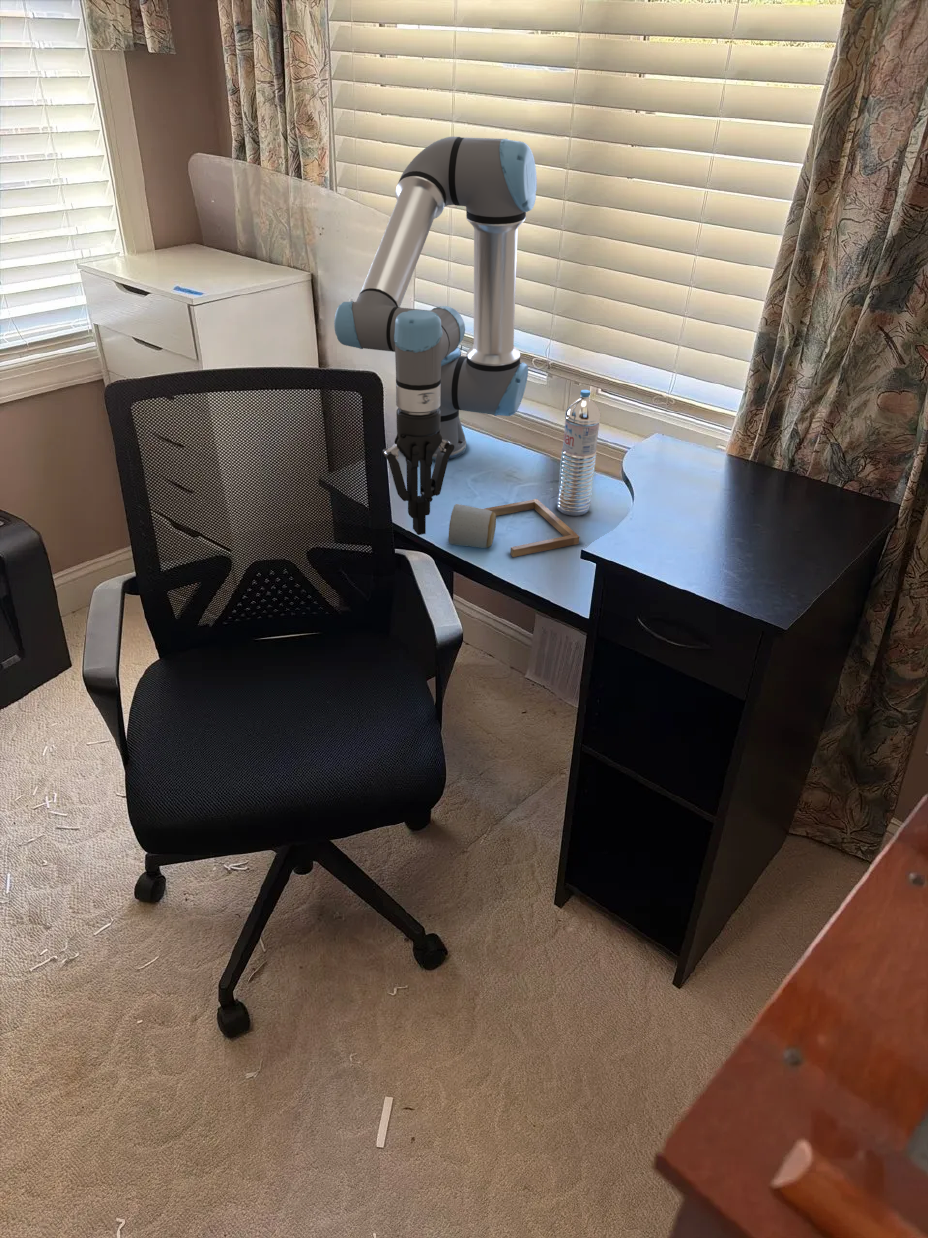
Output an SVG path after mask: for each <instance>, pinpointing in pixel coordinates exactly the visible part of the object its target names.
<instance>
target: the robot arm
mask: <svg viewBox="0 0 928 1238" xmlns="http://www.w3.org/2000/svg"><path fill="white" fill-rule="evenodd" d="M537 186H538V179H537V167H536V161H535V156H534V154H533V151H532V149H531V147H530V146H529V145H528V144H527V143H526V142H525V141H520V140H513V139H508V138H493V137H491V138H490V137H461V136H447V137H443V138H440V139H438V140H436V141H434V142H432V143H430V144H428V146H426V147H425V148H424V149H422V150H421V151H420V152H418V154H417V155H416V156H415V157H414V158H412V160H411V161H410V162H409V163H408V165H407V166H406V167H405V169H404V171H403V172H402V174H401V175H400V177H399V179H398V182H397V184H396V188H395V199H396V202H395V204H394V207H393V210H392V212H391V215H390V217H389V220H388V222H387V224H386V227H385V229H384V232H383V234H382V238H381V240H380V242H379V244H378V247H377V250H376V253H375V255H374V256H373V259H372V262H371V265H370V267H369V270H368V272H367V275H366V277H365V279H364V282H363V285H362V287H361V290H360V292H359V294H358V297H357V299H356V301H353V300H350V301H342V303H341V304H339V305H338V306H337V308H336V311H335V313H334V314H335V315H334V321H333V322H334V323H333V326H334V327H333V328H334V333H335V336H336V339H337V340H338V342H339V343H340V344H341V345H343V346H348V347H350V348H356V349H359V350H363V349H365V350H374V351H384V352H392V353H395V354H394V357H395V358H394V359H395V405H396V407H397V409H396V411H395V412H396V415H395V416H396V437H395V438H394V444H393V445H392V446H390V447H389V448H386V447H385V448H383V449H382V452H381V453H382V455H383V456H384V457H385V459H386V460H387V461H388V465H389V468H390V472H391V476H392V479H393V483H394V487H395V489H396V493H397V496H398V497H399V498H400V499H401V500H402V501H403V502H407V513H408V515H409V517H410V518H411V519H412V530H413V531H414V532H415V533H416V535H417V536H422V535H426V534H427V533H426V532H427V531H426V528H427V527H426V526H427V525H426V522H427V521H426V519H427V517H426V516H430V514H431V503H432V501H433V500H434V499H433V497H435V496H436V497H437V496H440V495H441V493H442V492H441V491H442V488H443V485H444V484H443V483H444V481H445V475H446V472H447V467H448V463H449V460H452V459H456V458H458V457H460V456H462V455H463V454H464V453H465V452H466V450H467V440H466V435H465V432H464V429H463V426H462V423H461V420H460V411H463V412H471V413H476V414H483V415H491V416H492V415H493V416H494V417H497V416H502V417H512V416H514V415H515V414H516V413H517V412H518V410H519V408H520V406H521V403H522V401H523V398H524V394H525V391H526V386H527V382H528V376H529V366H528V364H527V363H525V362H524V361H522V362H521V352H520V350H519V348H517V347H516V346H515V344H514V343H515V342H514V341H515V318H516V317H515V315H516V291H517V290H516V285H517V284H516V283H517V257H518V229H519V227H520V226H521V225H522V224H523V223H524V222H525V220H526V217H527V213H528V212H530V211H532V210H533V208H534V207H535V204H536V199H537V194H536V192H537V190H538V189H537V188H538V187H537ZM447 206H455V207H458V206H459V207H465V209H466V211H465V212H466V215H465V216H466V217H465V218H466V220H467V221H468V223H469V224H470V225H471V226H472V227H473V345H472V346H471V347H469V348H468V350H467V352H466V356H463V355H462V351H461V349H460V348H459V345H460V344H461V342H462V341H463V340H464V337H465V335H466V326H465V325H466V324H465V321H464V318H463V317H462V315H461V314H460V312H459V311H458V310H456V309H455V308H453V307H451V306H448V305H447V306H446V305H441V306H437V307H434V308H431V309H430V310H429V309H419V308H410V307H409V308H408V307H401V305H402V303H403V300H404V298H405V295H406V292H407V290H408V287H409V284H410V282H411V279H412V277H413V275H414V272H415V269H416V267H417V264H418V262H419V259H420V256H421V254H422V251H423V248H424V246H425V243H426V240H427V238H428V235H429V233H430V230H431V228H432V225H433V223H434V220H436V219H437V218H439V217H440V216H442V213H443V212H444V209H445V207H447ZM399 452H400V453H401V454H402V456H403V457H404V458H405V464H406V465H405V466H406V468H405V469H406V483H405V479H404V476H403V472H402V469H401V465H400V463H399V461H398V460H399V457H400V455H399ZM433 462H434V466H433V470H432V465H433ZM419 494H420V495H419Z"/></svg>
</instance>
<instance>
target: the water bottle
mask: <svg viewBox="0 0 928 1238" xmlns="http://www.w3.org/2000/svg"><path fill="white" fill-rule="evenodd" d="M579 394H580V395H579V398H578V399H576V400H574V401H573V402H571V403H570V404H569V406H568V407H567V408H566V410H565V415H564V431H563V440H562V443H563V444H562V448H561V454H560V463H559V464H560V465H559V477H558V487H557V497H556V508H557V510H558V511H559V512H560V513H561V514H564V515H566V516H571V517H579V516H583V515H586V514H587V513H588V512H589V511H590V507H591V501H592V493H593V484H594V482H593V481H594V476H595V466H596V460H597V445H598V438H599V437H598V436H599V431H600V429H599V428H600V422H601V420H602V419H601V417H602V412H601V410H600V408H599V407H598V405H597V404H596V403H595V402H594V401H593V400H592V399H591V398H590V396H591V391H590V390H589V389H581V390H580V393H579Z"/></svg>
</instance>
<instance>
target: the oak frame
mask: <svg viewBox="0 0 928 1238" xmlns="http://www.w3.org/2000/svg"><path fill="white" fill-rule="evenodd" d="M483 509H486V510H490V511H492V512H494V513H495V514H496V517H499V516H505V515H508V514H514V513H515V514H516V513H519V512H520V513H521V512H526V511H529V510H530V511H531V510H535V511H536V513H538V514H539V515H540V516H541V517H542V518H544V519H545V520H546V521H547V523H549V524H550V525H551V526H552V527H553V528H554V529H555V530H557V532H558V533H560V534H561V535H562V536H559V537H554V538H549V539H544V540H539V541H535V542H534V541H533V542H529V543H525V544H519V545H514V546H510V550H509V551H510V552H509V555H510V556H511V557H512V558H516V557H521V556H527V555H531V554H536V553H540V552H546V551H551V550H555V549H560V548H565V547H570V546H574V545H575V546H576V545H579V544H580V535H579V534H577V533H576V532H575V531H574V530H573V529H572V528H571V527H570V526H568V524H566V523H565V522H564V521H563V520H561V519H560V517H558V516H557V515H556V514H555V513H554V512H553V511H551V509H549V508H548V507H547V506H546V505H545V504H544V503H542V501H540V500H539V499H538V498H533V499H528V500H524V501H523V500H522V501H518V502H517V501H516V502H511V503H507V504H501V505H495V506H491V507H483Z"/></svg>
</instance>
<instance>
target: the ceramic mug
mask: <svg viewBox="0 0 928 1238" xmlns="http://www.w3.org/2000/svg"><path fill="white" fill-rule="evenodd" d="M450 514H451V515H450V517H449V518H450V519H449V525H448V543H449V544H450V545H454V546H463V547H472V548H481V549H486V548H487V549H489V548H490V547H491V546H492V545H493V542H494V539H495V534H496V527H497V516H496V514H495V513H494V512H492V511H490V510H486V509H484V508H481V507H476V506H470V505H465V504H459V503H455V504H454V505H453V508H452V511H451V513H450Z"/></svg>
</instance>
